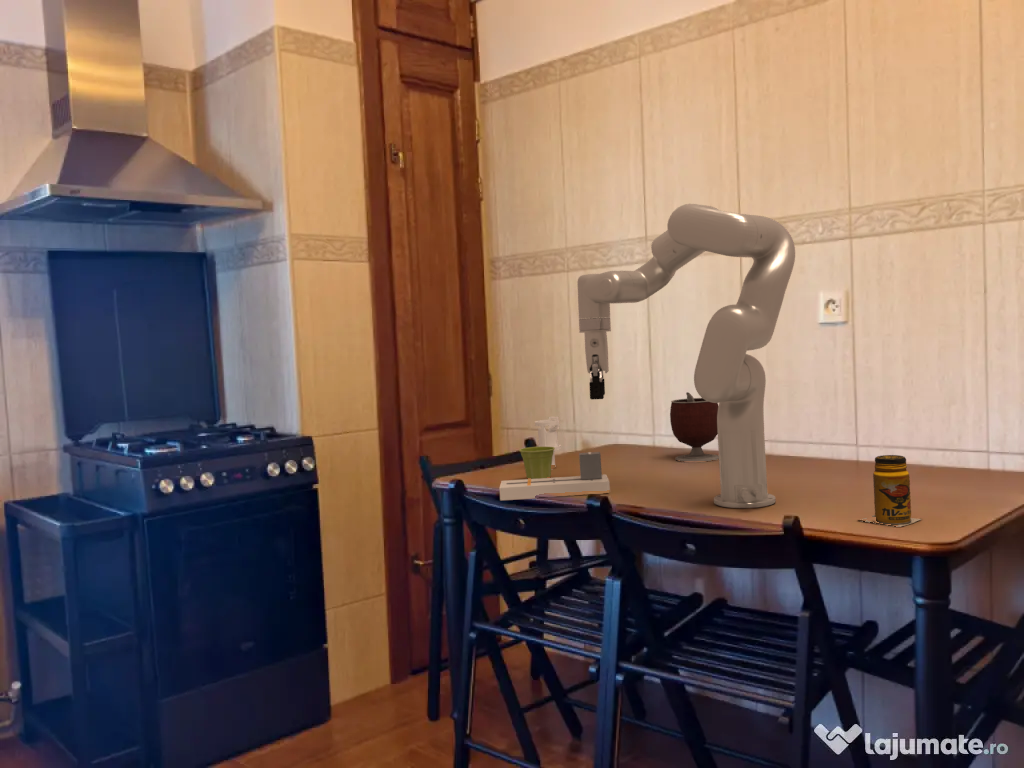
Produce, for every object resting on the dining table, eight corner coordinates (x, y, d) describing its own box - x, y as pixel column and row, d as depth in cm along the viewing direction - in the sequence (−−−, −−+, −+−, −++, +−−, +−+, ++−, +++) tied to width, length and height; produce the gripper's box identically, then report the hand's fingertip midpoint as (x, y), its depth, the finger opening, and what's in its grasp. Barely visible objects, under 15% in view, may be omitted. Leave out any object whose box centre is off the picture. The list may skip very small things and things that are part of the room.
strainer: (556, 470, 239) (553, 418, 238) (533, 470, 242) (530, 418, 242) (566, 466, 246) (562, 415, 245) (543, 466, 249) (540, 415, 248)
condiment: (900, 528, 150) (897, 460, 149) (856, 521, 157) (853, 457, 156) (922, 520, 154) (919, 455, 153) (878, 514, 161) (875, 452, 160)
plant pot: (527, 478, 230) (525, 446, 230) (561, 477, 227) (558, 445, 227) (516, 484, 221) (514, 451, 221) (551, 484, 218) (548, 450, 218)
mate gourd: (678, 455, 252) (674, 388, 251) (725, 455, 247) (721, 386, 245) (666, 464, 238) (662, 393, 237) (716, 463, 232) (712, 391, 231)
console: (610, 493, 199) (609, 480, 199) (500, 500, 201) (499, 487, 200) (607, 486, 209) (606, 474, 209) (502, 492, 211) (501, 480, 210)
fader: (602, 478, 203) (600, 453, 202) (581, 479, 203) (579, 454, 203) (601, 476, 206) (599, 451, 206) (580, 477, 206) (579, 452, 206)
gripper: (609, 325, 193) (612, 400, 195) (611, 324, 211) (614, 393, 212) (577, 327, 194) (580, 401, 196) (581, 326, 212) (583, 394, 213)
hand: (597, 397), depth 204 cm, fingers open, 9 cm apart
